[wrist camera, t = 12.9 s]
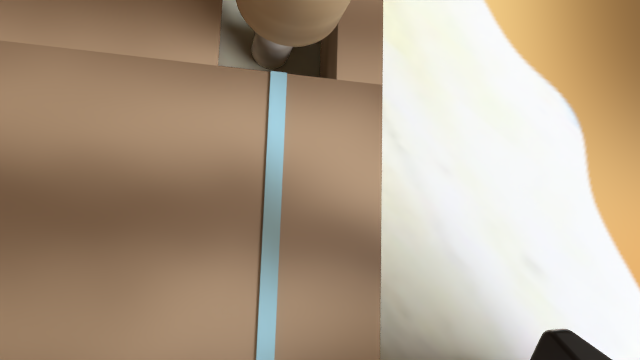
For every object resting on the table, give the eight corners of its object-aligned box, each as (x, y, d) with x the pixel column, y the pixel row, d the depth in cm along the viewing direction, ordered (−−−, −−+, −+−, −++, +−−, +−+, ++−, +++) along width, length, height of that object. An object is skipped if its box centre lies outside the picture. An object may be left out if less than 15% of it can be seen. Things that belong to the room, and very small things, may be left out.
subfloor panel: (354, 398, 23) (380, 413, 20) (-255, 401, 18) (-339, 421, 16) (361, -22, 26) (384, -63, 24) (-145, -101, 22) (-196, -163, 19)
